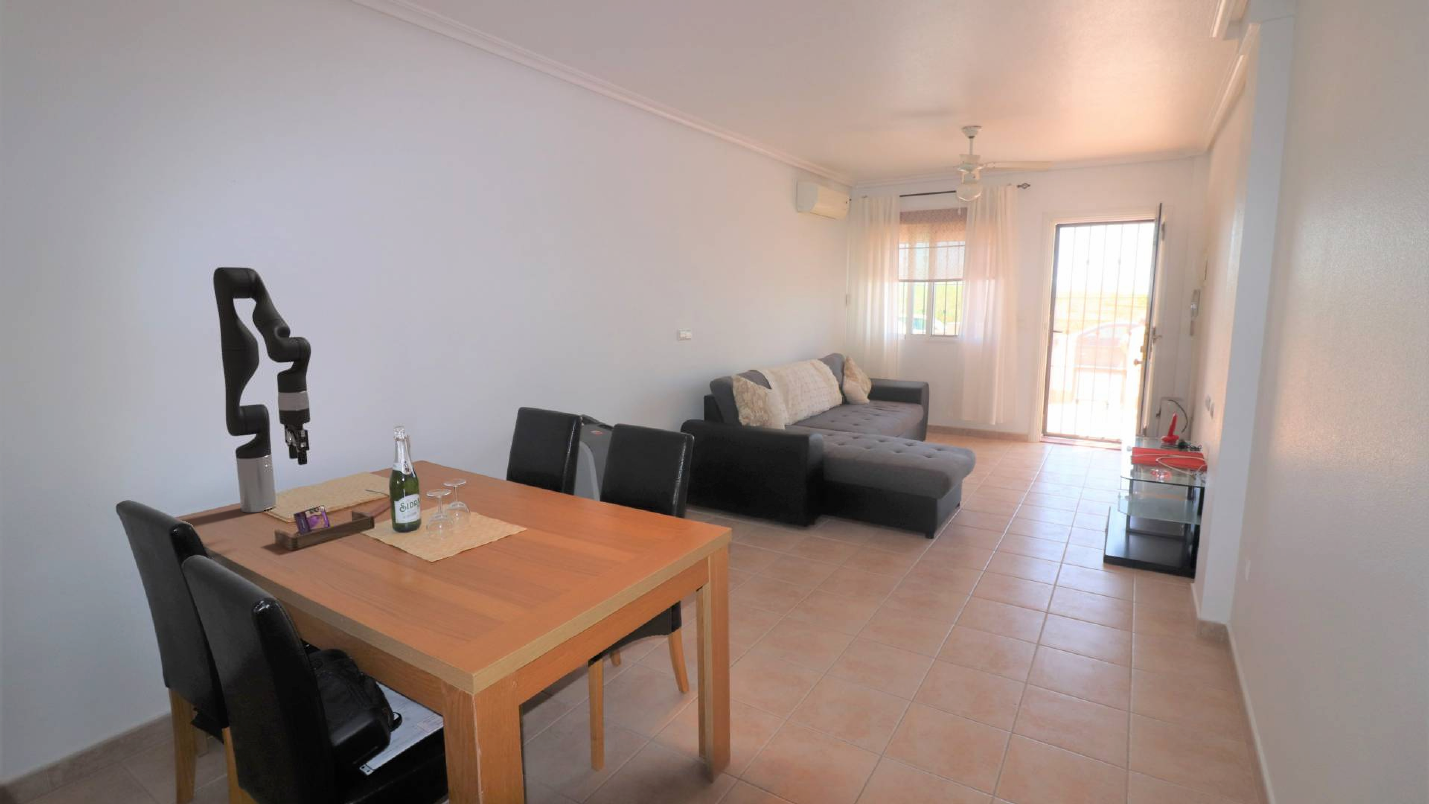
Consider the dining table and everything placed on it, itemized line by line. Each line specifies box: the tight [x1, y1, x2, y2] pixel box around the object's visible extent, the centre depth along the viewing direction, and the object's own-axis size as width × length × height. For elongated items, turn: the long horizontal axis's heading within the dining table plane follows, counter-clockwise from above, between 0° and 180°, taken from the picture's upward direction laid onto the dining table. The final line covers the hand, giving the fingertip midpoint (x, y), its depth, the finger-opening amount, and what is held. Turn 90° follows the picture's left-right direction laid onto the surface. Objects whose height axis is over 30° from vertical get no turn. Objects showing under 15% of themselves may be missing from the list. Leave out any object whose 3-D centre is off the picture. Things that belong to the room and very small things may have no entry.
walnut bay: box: [274, 509, 376, 551], centre depth 189 cm, size 10×22×4 cm, turn 146°
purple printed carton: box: [293, 504, 331, 535], centre depth 193 cm, size 7×5×9 cm
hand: (298, 461), depth 194 cm, fingers open, 8 cm apart
